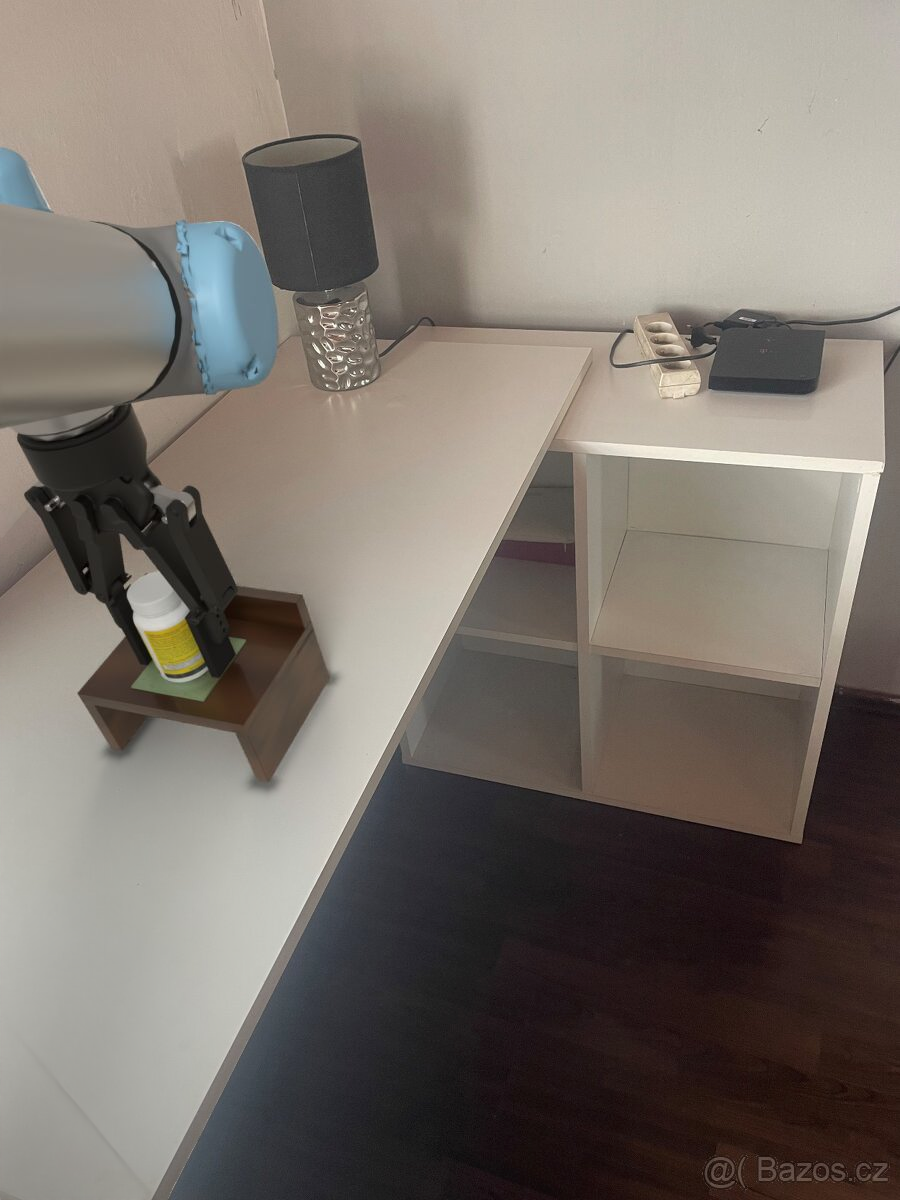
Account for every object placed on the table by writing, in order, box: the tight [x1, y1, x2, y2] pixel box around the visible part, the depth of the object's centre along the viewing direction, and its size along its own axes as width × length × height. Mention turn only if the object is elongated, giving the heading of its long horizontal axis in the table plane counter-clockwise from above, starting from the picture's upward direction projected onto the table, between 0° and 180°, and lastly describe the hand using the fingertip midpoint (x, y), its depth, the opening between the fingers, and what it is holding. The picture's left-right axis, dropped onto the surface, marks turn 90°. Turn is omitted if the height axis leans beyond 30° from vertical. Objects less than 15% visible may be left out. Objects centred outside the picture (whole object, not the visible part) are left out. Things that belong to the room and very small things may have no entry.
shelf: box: [76, 572, 330, 783], centre depth 74 cm, size 12×16×10 cm
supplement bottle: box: [127, 570, 208, 683], centre depth 69 cm, size 5×5×8 cm
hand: (187, 659), depth 72 cm, fingers open, 6 cm apart
